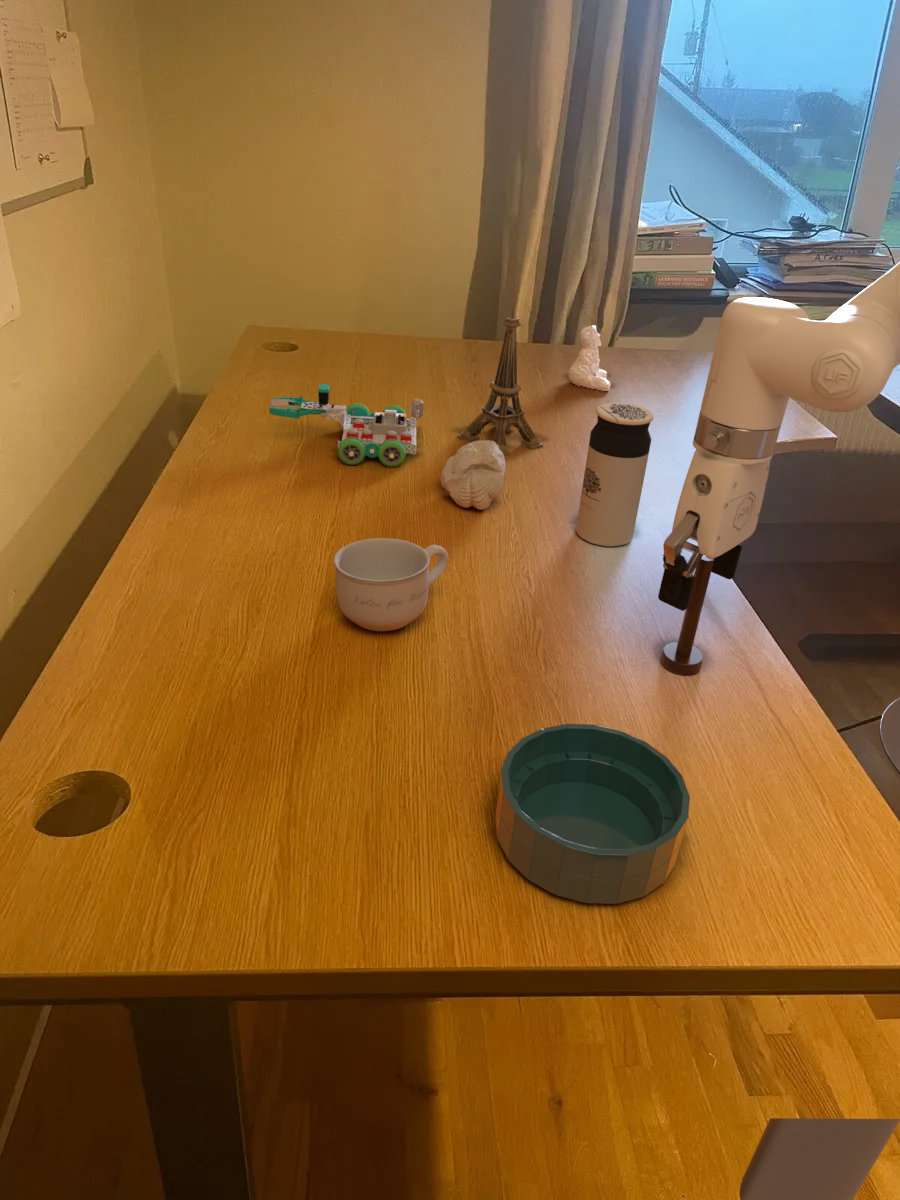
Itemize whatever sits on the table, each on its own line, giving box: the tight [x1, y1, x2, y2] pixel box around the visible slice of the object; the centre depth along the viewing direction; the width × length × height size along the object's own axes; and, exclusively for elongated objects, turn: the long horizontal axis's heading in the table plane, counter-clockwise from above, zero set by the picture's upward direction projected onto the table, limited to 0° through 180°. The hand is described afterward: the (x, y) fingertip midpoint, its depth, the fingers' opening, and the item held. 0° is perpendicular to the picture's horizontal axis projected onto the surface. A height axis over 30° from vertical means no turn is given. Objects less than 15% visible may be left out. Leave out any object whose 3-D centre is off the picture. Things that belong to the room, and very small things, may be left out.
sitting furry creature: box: [567, 324, 612, 392], centre depth 181 cm, size 10×9×12 cm
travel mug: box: [575, 402, 655, 547], centre depth 120 cm, size 8×8×18 cm
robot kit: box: [268, 383, 424, 468], centre depth 145 cm, size 19×25×9 cm
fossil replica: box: [439, 439, 507, 511], centre depth 130 cm, size 12×8×10 cm
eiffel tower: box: [456, 294, 544, 457], centre depth 147 cm, size 11×11×25 cm
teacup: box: [333, 537, 449, 632], centre depth 101 cm, size 14×11×8 cm
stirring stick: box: [660, 555, 714, 677], centre depth 95 cm, size 4×4×14 cm
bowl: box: [494, 723, 691, 905], centre depth 74 cm, size 15×15×6 cm
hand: (696, 588), depth 94 cm, fingers open, 9 cm apart
